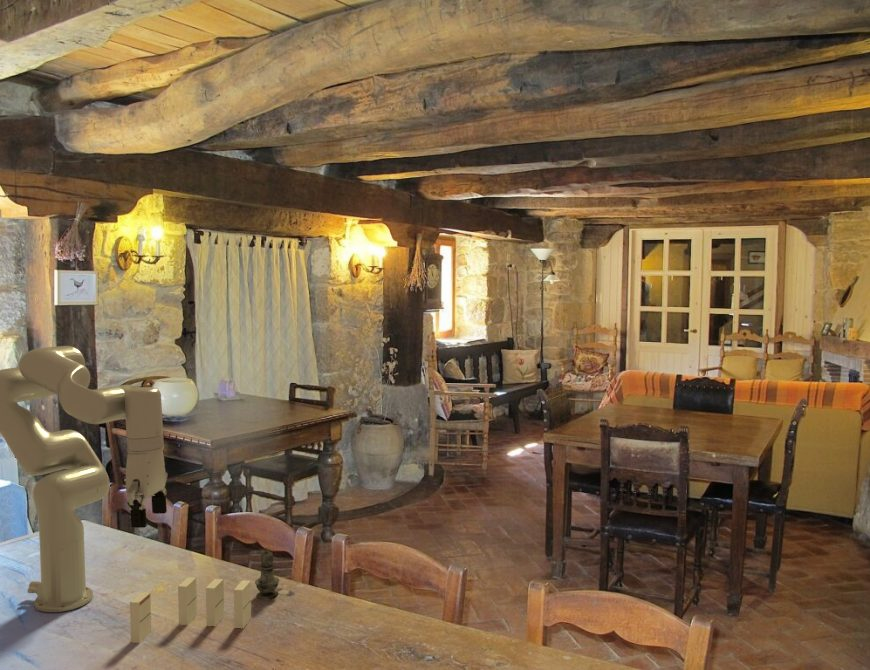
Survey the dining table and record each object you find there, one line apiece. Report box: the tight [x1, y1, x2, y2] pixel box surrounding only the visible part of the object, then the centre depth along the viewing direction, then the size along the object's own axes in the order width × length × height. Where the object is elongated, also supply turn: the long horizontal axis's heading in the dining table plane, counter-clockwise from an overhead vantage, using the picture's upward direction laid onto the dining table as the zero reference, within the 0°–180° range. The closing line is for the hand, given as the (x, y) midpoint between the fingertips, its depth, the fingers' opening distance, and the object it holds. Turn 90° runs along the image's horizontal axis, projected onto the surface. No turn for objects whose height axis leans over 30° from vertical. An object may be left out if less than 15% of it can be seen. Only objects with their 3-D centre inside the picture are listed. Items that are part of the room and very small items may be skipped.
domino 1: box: [129, 591, 152, 644], centre depth 161 cm, size 2×5×9 cm, turn 173°
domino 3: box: [205, 578, 225, 628], centre depth 169 cm, size 2×5×9 cm, turn 173°
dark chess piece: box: [254, 547, 280, 601], centre depth 183 cm, size 6×6×12 cm
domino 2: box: [177, 576, 198, 626], centre depth 169 cm, size 2×5×9 cm, turn 173°
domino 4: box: [233, 579, 252, 630], centre depth 168 cm, size 2×5×9 cm, turn 173°
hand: (149, 519), depth 165 cm, fingers open, 9 cm apart
